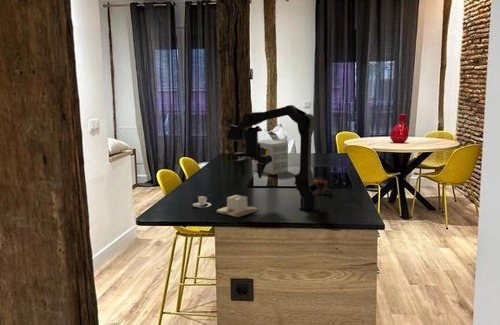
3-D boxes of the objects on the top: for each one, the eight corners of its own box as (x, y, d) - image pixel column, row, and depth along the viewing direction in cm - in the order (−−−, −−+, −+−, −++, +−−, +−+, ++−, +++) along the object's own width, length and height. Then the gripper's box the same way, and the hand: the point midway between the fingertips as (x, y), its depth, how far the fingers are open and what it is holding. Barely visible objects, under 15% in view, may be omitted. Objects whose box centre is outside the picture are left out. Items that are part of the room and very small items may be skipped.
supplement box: (253, 170, 282) (252, 141, 279) (268, 167, 291) (268, 139, 288) (272, 174, 269) (272, 143, 266) (288, 171, 278) (288, 141, 275)
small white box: (247, 208, 195) (247, 196, 194) (238, 211, 190) (237, 199, 189) (236, 206, 198) (236, 194, 198) (227, 209, 194) (226, 196, 193)
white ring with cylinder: (194, 209, 200) (194, 200, 199) (189, 205, 207) (188, 196, 206) (213, 206, 203) (213, 197, 203) (207, 202, 211) (207, 194, 210)
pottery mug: (303, 193, 226) (307, 177, 228) (318, 199, 230) (321, 183, 232) (319, 191, 216) (323, 174, 218) (334, 198, 220) (337, 181, 222)
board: (257, 210, 195) (256, 201, 194) (238, 217, 186) (238, 207, 185) (235, 206, 203) (235, 197, 202) (216, 212, 193) (216, 202, 193)
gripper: (279, 141, 202) (279, 176, 205) (246, 138, 214) (247, 171, 217) (263, 143, 194) (264, 180, 197) (230, 140, 205) (231, 175, 208)
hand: (251, 176), depth 205 cm, fingers open, 9 cm apart
